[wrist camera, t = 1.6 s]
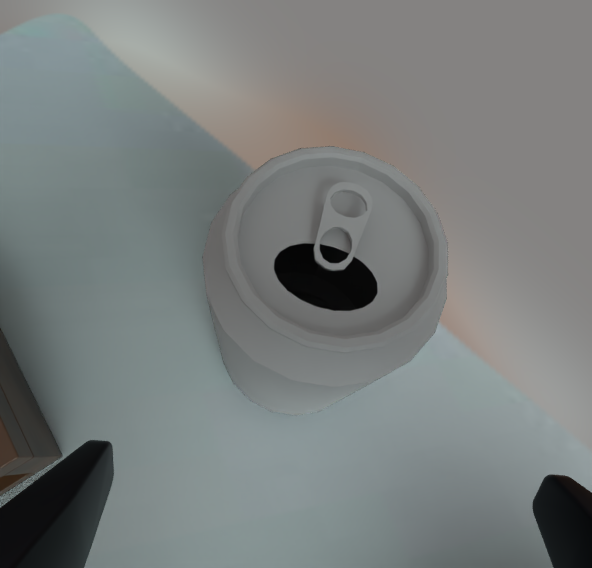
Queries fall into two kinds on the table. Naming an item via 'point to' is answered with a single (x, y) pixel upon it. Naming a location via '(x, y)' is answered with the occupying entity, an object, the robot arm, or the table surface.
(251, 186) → the can
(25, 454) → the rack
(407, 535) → the table surface
